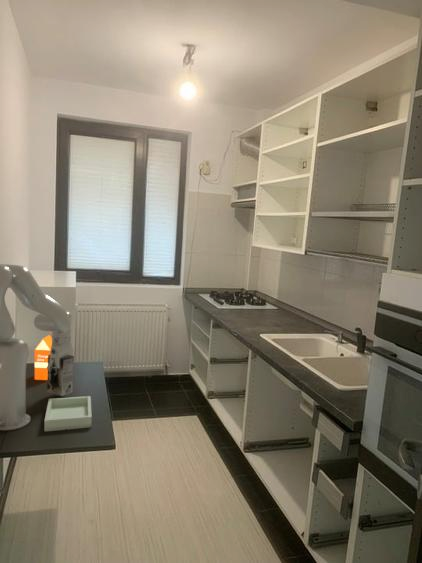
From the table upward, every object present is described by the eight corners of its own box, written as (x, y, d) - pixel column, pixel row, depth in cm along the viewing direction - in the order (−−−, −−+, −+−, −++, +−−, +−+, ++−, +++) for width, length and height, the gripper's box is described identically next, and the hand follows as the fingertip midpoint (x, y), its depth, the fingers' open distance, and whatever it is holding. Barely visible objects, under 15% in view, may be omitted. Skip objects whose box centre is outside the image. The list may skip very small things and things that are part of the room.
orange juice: (57, 374, 203) (57, 334, 201) (50, 380, 194) (51, 339, 192) (41, 373, 203) (41, 334, 201) (34, 379, 194) (34, 338, 192)
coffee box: (46, 392, 174) (47, 354, 173) (58, 387, 179) (59, 352, 178) (61, 396, 170) (62, 358, 168) (73, 392, 175) (74, 355, 174)
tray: (91, 427, 149) (91, 416, 148) (44, 431, 144) (44, 420, 143) (90, 405, 168) (90, 396, 167) (48, 408, 163) (48, 398, 162)
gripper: (55, 345, 163) (53, 388, 165) (81, 337, 180) (80, 376, 181) (39, 343, 166) (38, 385, 167) (66, 335, 182) (65, 374, 184)
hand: (60, 380), depth 174 cm, fingers closed on coffee box, 7 cm apart
